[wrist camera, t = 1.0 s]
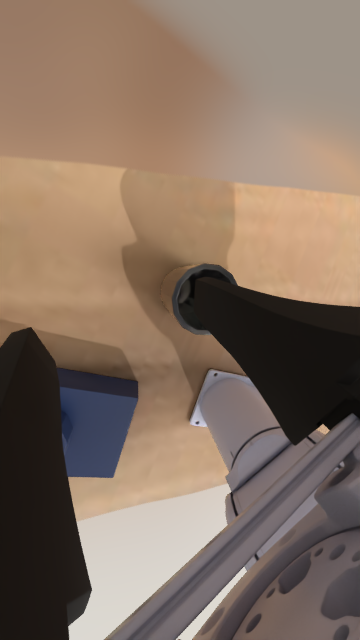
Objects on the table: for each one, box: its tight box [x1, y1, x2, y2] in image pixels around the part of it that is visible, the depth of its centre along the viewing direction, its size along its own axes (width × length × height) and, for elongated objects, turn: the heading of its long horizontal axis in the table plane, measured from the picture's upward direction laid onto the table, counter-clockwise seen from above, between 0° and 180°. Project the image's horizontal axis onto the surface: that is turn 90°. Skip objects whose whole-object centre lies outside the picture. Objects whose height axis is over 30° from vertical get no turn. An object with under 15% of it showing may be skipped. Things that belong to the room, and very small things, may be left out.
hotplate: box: [57, 368, 138, 478], centre depth 19 cm, size 13×10×5 cm
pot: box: [160, 263, 238, 335], centre depth 18 cm, size 5×6×7 cm
